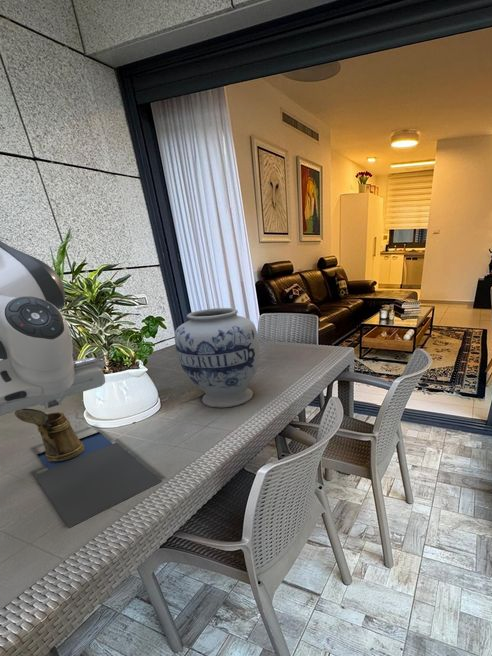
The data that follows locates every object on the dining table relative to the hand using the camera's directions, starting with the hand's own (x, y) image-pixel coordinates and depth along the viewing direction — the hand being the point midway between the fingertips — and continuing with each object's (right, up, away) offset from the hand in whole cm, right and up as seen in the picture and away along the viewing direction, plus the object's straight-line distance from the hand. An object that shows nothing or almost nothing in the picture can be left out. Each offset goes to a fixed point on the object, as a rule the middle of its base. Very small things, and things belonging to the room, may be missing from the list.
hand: (51, 403), depth 76 cm
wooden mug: (-11, -14, +19) cm, 26 cm away
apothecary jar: (+25, +5, +51) cm, 57 cm away
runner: (+3, -18, +10) cm, 21 cm away
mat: (-12, -11, +24) cm, 29 cm away
